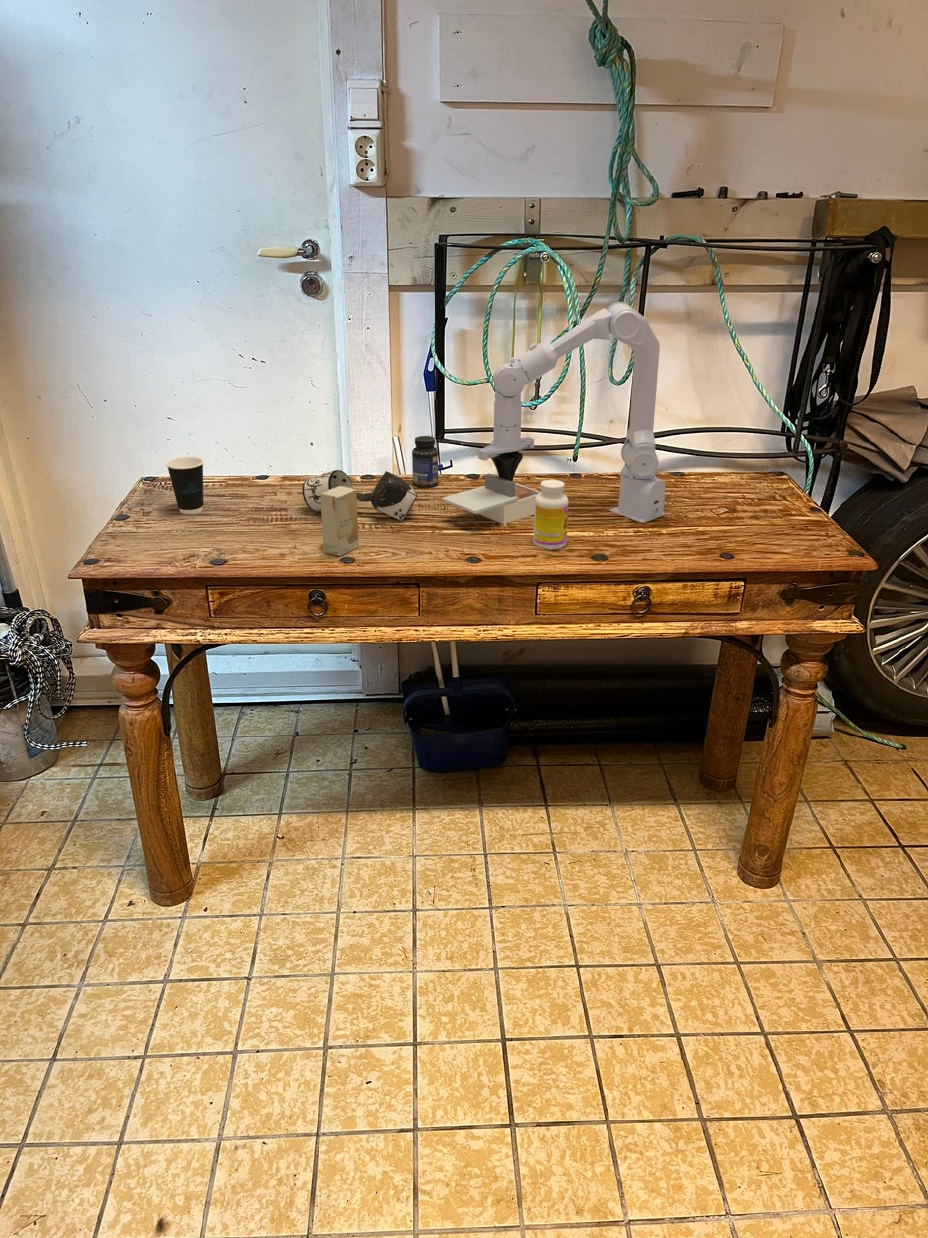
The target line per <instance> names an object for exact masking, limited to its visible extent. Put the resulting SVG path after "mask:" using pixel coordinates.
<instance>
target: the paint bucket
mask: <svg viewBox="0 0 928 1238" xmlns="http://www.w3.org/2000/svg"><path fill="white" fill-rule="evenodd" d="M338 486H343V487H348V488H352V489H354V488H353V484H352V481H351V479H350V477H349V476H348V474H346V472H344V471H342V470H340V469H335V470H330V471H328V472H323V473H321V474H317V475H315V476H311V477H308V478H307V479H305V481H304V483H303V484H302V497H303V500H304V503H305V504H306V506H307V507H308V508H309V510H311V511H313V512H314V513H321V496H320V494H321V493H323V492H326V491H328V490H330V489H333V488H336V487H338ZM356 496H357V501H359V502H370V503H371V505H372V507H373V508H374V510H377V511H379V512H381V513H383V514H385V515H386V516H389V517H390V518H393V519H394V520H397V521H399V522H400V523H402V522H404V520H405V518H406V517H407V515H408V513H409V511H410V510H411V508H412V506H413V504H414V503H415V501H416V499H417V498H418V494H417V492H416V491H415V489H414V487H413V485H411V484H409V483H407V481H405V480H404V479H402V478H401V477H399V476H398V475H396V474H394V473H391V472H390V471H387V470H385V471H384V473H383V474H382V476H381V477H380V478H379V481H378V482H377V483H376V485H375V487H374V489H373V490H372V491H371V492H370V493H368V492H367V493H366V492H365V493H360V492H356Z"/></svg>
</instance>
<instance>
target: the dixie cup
mask: <svg viewBox="0 0 928 1238" xmlns="http://www.w3.org/2000/svg"><path fill="white" fill-rule="evenodd" d="M204 464H205V460H204V459H203V458H201V457H198V456H180V457H175V458H171V459H169V460H167V461H166V462H165V466H166V467H167V470H168V474H169V479H170V482H171V486H172V490H173V494H174V497H175V501H176V504H177V505H176V506H177V508H178V509H179V512H180V513H181V514H183V515H195V514H198V513H201V512H202V511H203V507H204Z"/></svg>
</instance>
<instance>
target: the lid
mask: <svg viewBox="0 0 928 1238" xmlns="http://www.w3.org/2000/svg"><path fill="white" fill-rule="evenodd" d="M515 483H516V482H514V481H513V482H512V481H509V480H506V479H504V478H501V477H499V476H497V475H495V474H491V473H486V474H484V485H482V486H478V487H476V488H472V489H469V490H465V491H464V490H463V491H462V492H458V493H455V494H451V495H447V496H444V497H441V501H442V502H445V503H446V504H448V505H451V506H454V507H456V508H459V509H460V510H461V509H462V510H464V511H467V512H469V513H472V514H474V515H476V514H477V513H480V512H483V511H486V510H489V509H492V508H496V507H499V506H502V505H505V504H508V503H512V502H515V501H518V500H519V498H518V497H516V496H515ZM477 515H478V514H477Z"/></svg>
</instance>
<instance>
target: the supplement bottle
mask: <svg viewBox="0 0 928 1238" xmlns="http://www.w3.org/2000/svg"><path fill="white" fill-rule="evenodd" d="M539 488H540V492H541V493H540V494H539V495H537V497H536V498H535V513H534V517H533V519H534V521H533V536H532V537H533V545H535V546H536V547H539V548H542V549H545V550H552V551H553V550H559V549H563V548H564V547H565V546H566V545H567V537H568V535H567V534H568V519H569V517H568V516H569V498H568V497H567V495H566V494H564V491H565V482H564V481H561V480H558V479H545V480H542V481H540V486H539Z"/></svg>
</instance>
